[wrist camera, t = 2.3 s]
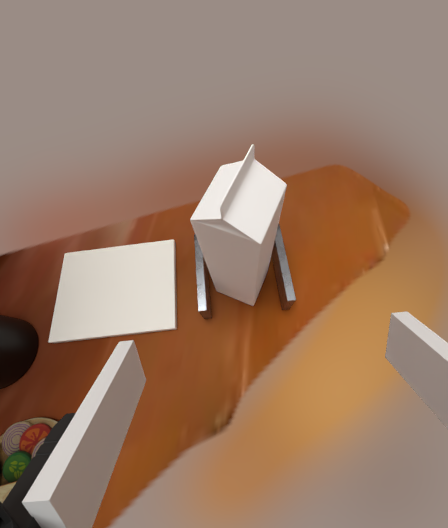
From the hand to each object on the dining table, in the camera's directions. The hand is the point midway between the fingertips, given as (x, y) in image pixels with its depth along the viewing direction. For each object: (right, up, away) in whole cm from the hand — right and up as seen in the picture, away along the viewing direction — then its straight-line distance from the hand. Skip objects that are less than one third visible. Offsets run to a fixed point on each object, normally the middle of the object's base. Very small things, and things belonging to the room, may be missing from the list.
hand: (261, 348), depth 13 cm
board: (-18, 0, +25) cm, 31 cm away
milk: (+1, +2, +24) cm, 24 cm away
